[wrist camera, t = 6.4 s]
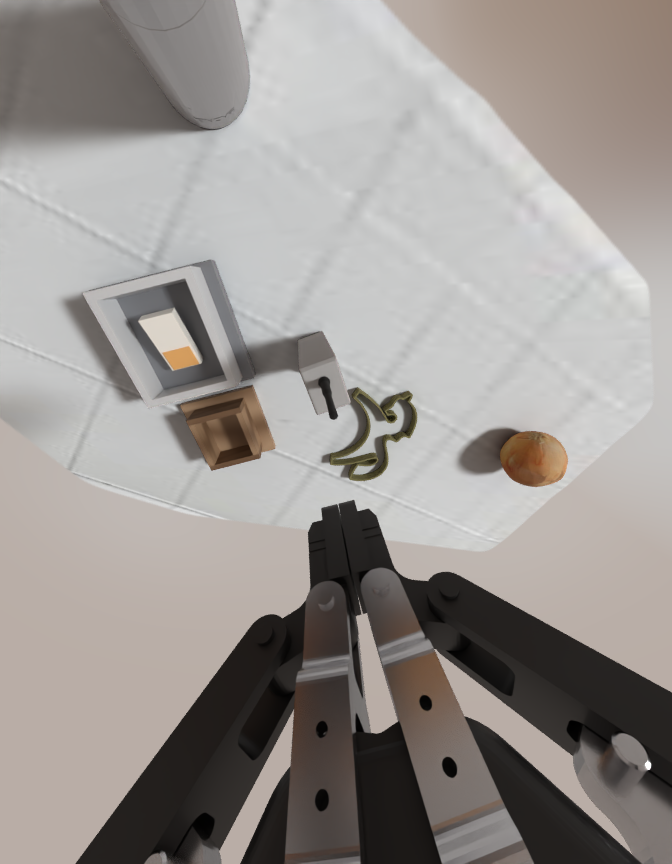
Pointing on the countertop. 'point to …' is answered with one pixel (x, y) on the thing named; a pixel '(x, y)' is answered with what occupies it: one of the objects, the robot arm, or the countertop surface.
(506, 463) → the onion
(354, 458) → the cookie cutter
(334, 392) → the vintage mobile phone
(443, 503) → the countertop surface
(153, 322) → the plate
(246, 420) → the stand
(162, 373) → the box
